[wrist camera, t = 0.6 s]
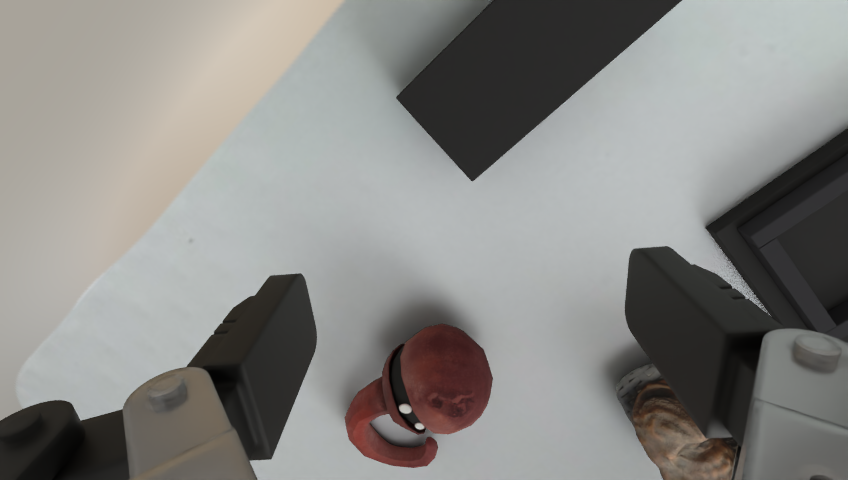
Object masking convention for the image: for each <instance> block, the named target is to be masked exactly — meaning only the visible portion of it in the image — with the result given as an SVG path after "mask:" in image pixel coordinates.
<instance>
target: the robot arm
mask: <svg viewBox="0 0 848 480" xmlns="http://www.w3.org/2000/svg"><path fill="white" fill-rule="evenodd" d="M625 316H626V321H627V324H628V327H629V329H630V331H631V333H632V334H633V336H634V337H635V339H636V340H637V341H638V343H639V344H640V346H641V347H642V349H643V350H644V351H645V353H646V354H647V356H648V357H649V359H650V360H651V361H652V363H653V364H654V366H655V367H656V368H657V370H658V371H659V373H660V374H661V376H662V377H663V378H664V380H665V381H666V383H667V384H668V386H669V387H670V388H671V390H672V391H673V393H674V394H675V395H676V397H677V398H678V400H679V401H680V403H681V404H682V405H683V407H684V408H685V410H686V411H687V413H688V414H689V415H690V417H691V418H692V420H693V421H694V422H695V424H696V425H697V427H698V428H699V430H700V431H701V432H702V434H703V435H704V437H705V438H706V439H707V438H727V437H733V438H734V439H735V440H736V442H737V443H738V446H737V450H736V454H735V458H734V464H733V469H732V474H731V480H848V343H847V342H845V341H842V340H840V339H837V338H835V337H832V336H829V335H826V334H822V333H819V332H814V331H809V330H803V329H786V328H785V327H784V326H782V325H781V324H780V323H778V322H777V321H776V320H775V319H773V318H772V317H771V316H769V315H768V314H767V313H766V312H764V311H763V310H762V309H761V308H759V307H758V306H757V305H755V304H754V303H753V302H752V301H750V300H749V299H745V296H744V295H743V294H741V293H740V292H739V291H738V290H736V289H732V286H731V285H730V284H729V283H727V282H726V281H725V280H723V279H722V278H721V277H720V276H718V275H717V274H715V273H713V272H710V271H708V270H706V269H703V268H701V267H699V266H696V265H691V264H690V263H689V262H687V261H686V260H685V259H684V258H683V257H681V256H680V255H679V254H678V253H676V252H675V251H674V250H673V249H672V248H670V247H668V246H664V247H651V248H638V249H633V250H632V252H631V254H630V258H629V267H628V278H627V289H626V299H625ZM316 342H317V332H316V325H315V321H314V316H313V312H312V307H311V303H310V298H309V294H308V289H307V285H306V281H305V278H304V276H303V275H302V274H286V275H273V276H270V277H269V278H268V279H267V280H266V282H265V283H264V284H263V286H262V287H261V288H260V290H259V291H258V292H257V294H256V295H255V296H250V297H248V298H247V299H246V300H244V301H243V302H241V303H240V304H238V305H237V306H235V307H234V308H233V309H232V310H231V311H230V313H229V314H228V315H227V316H226V318H225V319H224V320H223V324H220V325H219V326H218V328H217V329H216V330H215V331H214V335H211V337H210V338H209V339H208V340H207V342H206V343H205V344H204V345H203V347H202V348H201V349H200V350H199V352H198V353H197V354H196V355H195V357H194V358H193V359H192V360H191V362H190V363H189V364H188V365H187V367H185V368H179V369H175V370H171V371H168V372H165V373H163V374H160V375H158V376H156V377H154V378H152V379H150V380H149V381H147V382H146V383H144V384H142V385H141V386H140V387H139V388H137V389H136V390H135V391H134V392H133V393H132V394H131V395H130V396H129V397H128V399H127V400H126V402H125V404H124V407H123V409H122V410H119V411H115V412H111V413H108V414H104V415H100V416H97V417H93V418H89V419H86V420H82V421H80V419H79V417H78V415H77V413H76V411H75V409H74V407H73V405H72V404H71V403H70V402H67V401H62V400H55V401H48V402H43V403H39V404H36V405H33V406H30V407H27V408H25V409H22V410H20V411H18V412H16V413H14V414H12V415H10V416H8V417H6V418H4V419H3V420H1V421H0V480H257V477H256V475H255V473H254V471H253V468H252V466H251V464H250V461H249V460H267V459H272V456H273V454H274V451H275V449H276V447H277V444H278V442H279V439H280V437H281V434H282V432H283V429H284V427H285V424H286V422H287V419H288V417H289V414H290V412H291V409H292V407H293V404H294V402H295V399H296V397H297V395H298V392H299V390H300V387H301V385H302V382H303V380H304V377H305V375H306V372H307V370H308V367H309V365H310V362H311V360H312V357H313V355H314V352H315V349H316Z"/></svg>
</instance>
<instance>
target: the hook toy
mask: <svg viewBox="0 0 848 480" xmlns="http://www.w3.org/2000/svg"><path fill="white" fill-rule="evenodd" d="M492 380H493V377H492V374H491V371H490V367H489V364H488V361H487V358H486V355H485V352H484V350H483V349H482V348H481V347H480V346H479V345H478V344H477V343H476V342H475V341H474V340H473V339H472V338H470V337H469V336H468V335H467V334H466V333H465V332H464V331H462V330H460V329H458V328H456V327H453V326H449V325H445V324H438V325H434V326H429V327H425V328H424V329H422V330H421V331H420V332H418V333H417V334H416V335H414V336H413V337H412V338H410V339H409V340H408V341H406V343H405V344H400V345H399V346H398V347H397V348H395V349H394V350H393V351H392V353H391V354H390V356H389V357H388V359H387V361H386V363H385V366H384V368H383V371H382V377H380V378H378V379H376V380H375V381H373V382H372V383H370V384H369V385H367V386H366V387H365V388H363V389H362V390H360V391H359V392H358V393H357V395H356V396H355V398H354V399H353V401H352V402H351V404H350V407H349V409H348V411H347V413H346V416H345V423H346V429H347V433H348V437H349V440H350V441H351V442H352V443H353V444H354V445H355V446H356V448H357V449H358V450H359V451H360V452H361V453H362V454H363V455H364V456H366V457H369V458H371V459H374V460H377V461H379V462H382V463H385V464H389V465H393V466H400V467H411V468H415V467H422V466H427V465H428V464H429V463H430V462H431V461H432V460H433V459H434V458H435V456H436V453H437V449H438V446H437V442H436V441H435V440H434V439H433V438H432V437H427V439H426V441H425V444H424V445H422V446H418V447H413V448H408V447H398V446H394V445H391V444H389V443H388V442H386V441H385V440H384V439H383V438H382V437H380V436H379V435H378V434H377V432H376V431H375V430H374V428H373V427H372V426H371V425H370V421H372V420H373V419H375V418H377V417H379V416H381V415H385V414H390V416H391V418H392V419H393V421H394V422H395V423H397V424H399V425H400V426H402V427H404V428H406V429H408V430H410V431H412V432H414V433H416V434H418V435H419V434H424V433H425V430H426V428H427V429H429V430H430V431H431V432H433V433H438V434H451V433H455V432H457V431H460V430H462V429H464V428H466V427H468V426H471V425H472V424H473V423H474V422H475V421H476V420H477V419H478V418H479V417H480V416H481V415H482V413H483V411H484V410H485V408H486V406H487V404H488V401H489V397H490V393H491V386H492Z"/></svg>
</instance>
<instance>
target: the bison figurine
mask: <svg viewBox="0 0 848 480" xmlns="http://www.w3.org/2000/svg"><path fill="white" fill-rule="evenodd" d="M616 395H617V398H618V400H619V402H620V403H621V405H622V406H623V408H624V410H625V413H626V415H627V416H628V418H629V420H630V421H631V422H632V424H633V426H634V428H635V430H636V435H637V437H638V439H639V441H640V443H641V444H642V446H643V448H644V450H645V451H646V453H647V455H648V457H649V458H650V459H651V460H652V462H654V463H655V464H656V465H657V467H658V468H659V470H660V473H661V476H662V478H663V480H731V474H732V469H733V464H734V458H735V454H736V450H737V446H738V443H737V442H736V440H735V439H734V438H733V437H727V438H707V439H706V438H705V437H704V435H703V434H702V432H701V431H700V430H699V428H698V427H697V425H696V424H695V422H694V421H693V420H692V418H691V417H690V415H689V414H688V413H687V411H686V410H685V408H684V407H683V405H682V404H681V403H680V401H679V400H678V398H677V397H676V395H675V394H674V393H673V391H672V390H671V388H670V387H669V386H668V384H667V383H666V381H665V380H664V378H663V377H662V376H661V374H660V373H659V371H658V370H657V368H656V367H655V366H654V364H649V365H645V366H642V367H639V368H637V369H635V370H633V371H632V372H630V373H629V374H627V375H626V376H625V377H623V378H622V379H621V380H620V382H619V383H618V385H617V388H616Z"/></svg>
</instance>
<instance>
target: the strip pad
mask: <svg viewBox="0 0 848 480" xmlns="http://www.w3.org/2000/svg"><path fill="white" fill-rule="evenodd" d="M681 1H682V0H493V1H492V2H491V3H490V4H489V5H488V6H487V7H486V8H485V9H484V10H483V11H482V12H481V13H480V14H479V15H478V16H477V17H476V18H475V19H474V20H473V21H472V22H471V23H470V24H469V25H468V26H467V27H466V28H465V29H464V30H463V31H462V32H461V33H460V34H459V35H458V36H457V37H456V38H455V39H454V40H453V41H452V42H451V43H450V44H449V45H448V46H447V47H446V48H445V49H444V50H443V51H442V52H441V53H440V54H439V55H438V56H437V57H436V58H435V59H434V60H433V61H432V62H431V63H430V64H429V65H428V66H427V67H426V68H425V69H424V70H423V71H422V72H421V73H420V74H419V75H418V76H417V77H416V78H415V79H414V80H413V81H412V82H411V83H410V84H409V85H408V86H407V87H406V88H405V89H404V90H403V91H402V92H401V93H400V94H399V95H398V96H397V97H396V98H397V100H398V101H399V102H400V103H401V104H402V105H403V106H404V107H405V108H406V110H407V111H408V112H409V113H410V114H411V115H412V116H413V117H414V118H415V119H416V121H417V122H418V123H419V124H420V125H421V126H422V127H423V128H424V129H425V130H426V132H427V133H428V134H429V135H430V136H431V137H432V138H433V139H434V140H435V141H436V143H437V144H438V145H439V146H440V147H441V148H442V149H443V150H444V151H445V152H446V154H447V155H448V156H449V157H450V158H451V159H452V160H453V161H454V162H455V163H456V165H457V166H458V167H459V168H460V169H461V170H462V171H463V172H464V173H465V174H466V176H467V177H468V178H469V179H470V180H471V181H474V180H475V179H476V178H477V177H478V176H479V175H481V174H482V173H483V172H484V171H485V170H486V169H488V168H489V167H490V166H491V165H492V164H493V163H494V162H496V161H497V160H498V159H499V158H500V157H501V156H503V155H504V154H505V153H506V152H507V151H508V150H510V149H511V148H512V147H513V146H514V145H515V144H516V143H518V142H519V141H520V140H521V139H522V138H523V137H525V136H526V135H527V134H528V133H529V132H530V131H531V130H533V129H534V128H535V127H536V126H537V125H538V124H540V123H541V122H542V121H543V120H544V119H545V118H546V117H548V116H549V115H550V114H551V113H552V112H553V111H555V110H556V109H557V108H558V107H559V106H560V105H562V104H563V103H564V102H565V101H566V100H567V99H568V98H570V97H571V96H572V95H573V94H574V93H575V92H577V91H578V90H579V89H580V88H581V87H582V86H583V85H585V84H586V83H587V82H588V81H589V80H590V79H592V78H593V77H594V76H595V75H596V74H597V73H598V72H600V71H601V70H602V69H603V68H604V67H605V66H607V65H608V64H609V63H610V62H611V61H612V60H614V59H615V58H616V57H617V56H618V55H619V54H620V53H622V52H623V51H624V50H625V49H626V48H627V47H629V46H630V45H631V44H632V43H633V42H634V41H635V40H637V39H638V38H639V37H640V36H641V35H642V34H644V33H645V32H646V31H647V30H648V29H649V28H651V27H652V26H653V25H654V24H655V23H656V22H657V21H659V20H660V19H661V18H662V17H663V16H664V15H666V14H667V13H668V12H669V11H670V10H671V9H672V8H674V7H675V6H676V5H677V4H678V3H679V2H681Z"/></svg>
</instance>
